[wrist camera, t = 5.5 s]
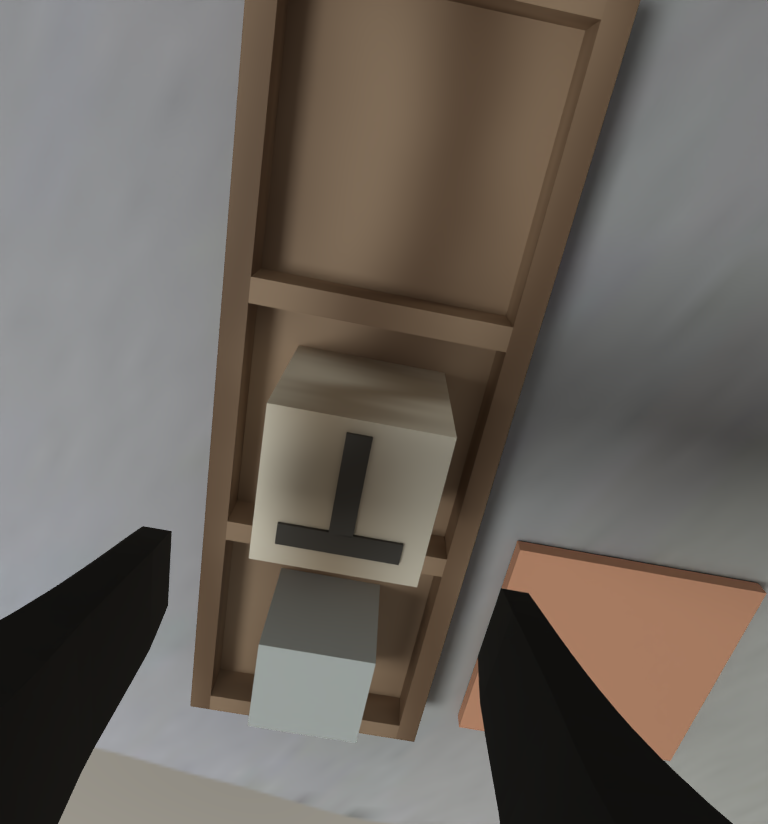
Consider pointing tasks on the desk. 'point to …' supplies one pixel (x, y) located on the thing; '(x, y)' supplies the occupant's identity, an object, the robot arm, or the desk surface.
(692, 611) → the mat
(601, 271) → the desk surface
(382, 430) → the letter cube
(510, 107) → the organizer
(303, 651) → the blank block
